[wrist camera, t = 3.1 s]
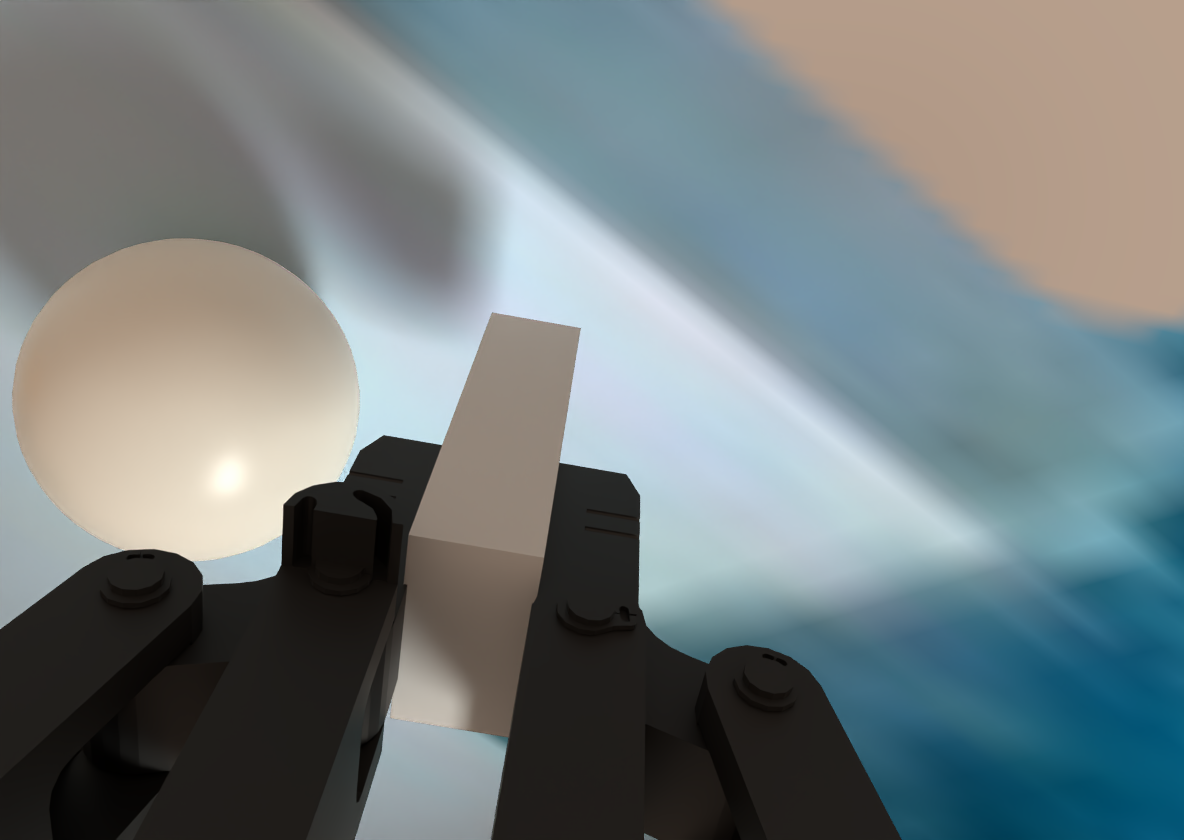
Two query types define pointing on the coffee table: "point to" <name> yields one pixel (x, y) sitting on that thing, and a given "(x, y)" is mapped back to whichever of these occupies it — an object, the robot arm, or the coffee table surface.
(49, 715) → the robot arm
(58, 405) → the cue ball
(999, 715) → the coffee table surface
